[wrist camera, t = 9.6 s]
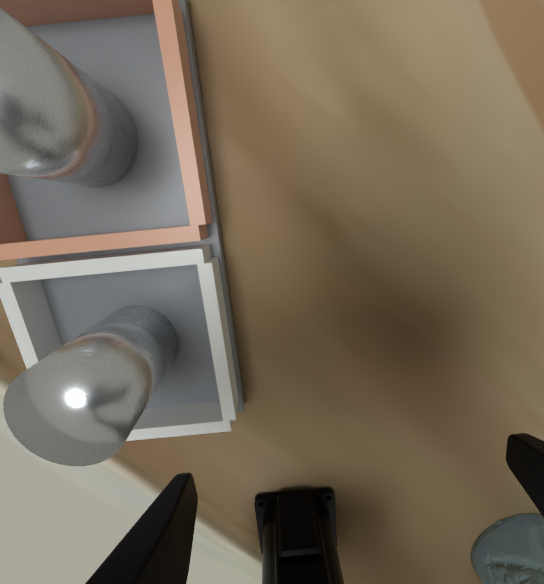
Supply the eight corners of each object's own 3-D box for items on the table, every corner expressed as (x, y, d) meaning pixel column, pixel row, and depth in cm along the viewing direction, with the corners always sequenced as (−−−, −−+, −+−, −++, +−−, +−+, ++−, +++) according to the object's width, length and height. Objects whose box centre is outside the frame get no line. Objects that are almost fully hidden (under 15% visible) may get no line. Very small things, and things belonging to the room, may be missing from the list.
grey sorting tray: (244, 402, 21) (241, 432, 18) (83, 417, 21) (54, 450, 18) (187, -1, 14) (168, -54, 12) (-47, 23, 14) (-125, -25, 12)
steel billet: (146, 182, 16) (59, 160, 9) (57, 191, 16) (-97, 176, 9) (125, 77, 14) (3, -40, 8) (28, 87, 14) (-181, -22, 8)
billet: (185, 372, 19) (141, 460, 12) (111, 379, 19) (27, 471, 12) (170, 301, 18) (112, 357, 11) (91, 309, 18) (-16, 370, 11)
